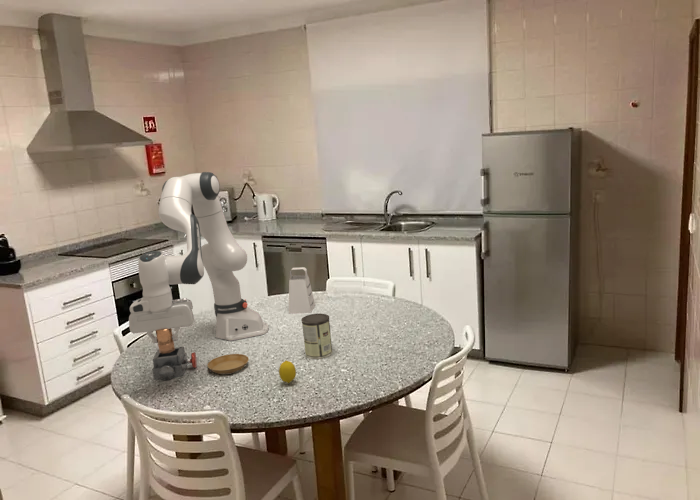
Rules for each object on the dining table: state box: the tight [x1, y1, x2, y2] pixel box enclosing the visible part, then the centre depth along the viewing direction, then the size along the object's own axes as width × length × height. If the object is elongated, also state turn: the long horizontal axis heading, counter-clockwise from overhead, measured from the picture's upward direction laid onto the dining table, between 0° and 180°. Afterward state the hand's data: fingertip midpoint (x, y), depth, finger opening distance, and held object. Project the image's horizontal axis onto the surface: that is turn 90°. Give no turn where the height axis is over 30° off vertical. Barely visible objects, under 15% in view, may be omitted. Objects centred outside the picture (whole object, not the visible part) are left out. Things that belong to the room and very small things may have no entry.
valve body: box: [152, 346, 198, 381], centre depth 206 cm, size 16×14×7 cm
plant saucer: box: [206, 353, 250, 375], centre depth 205 cm, size 15×15×3 cm
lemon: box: [278, 360, 297, 384], centre depth 187 cm, size 6×6×8 cm
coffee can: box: [301, 313, 333, 360], centre depth 209 cm, size 10×10×14 cm
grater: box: [288, 266, 316, 315], centre depth 263 cm, size 10×10×20 cm
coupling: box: [155, 328, 176, 354], centre depth 187 cm, size 5×5×8 cm
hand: (165, 341), depth 187 cm, fingers closed on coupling, 5 cm apart
